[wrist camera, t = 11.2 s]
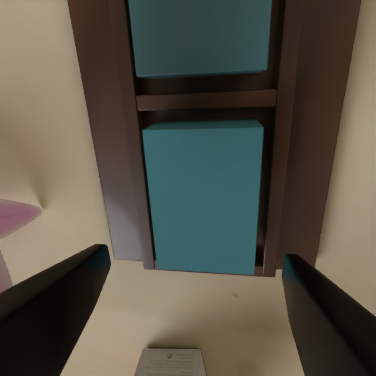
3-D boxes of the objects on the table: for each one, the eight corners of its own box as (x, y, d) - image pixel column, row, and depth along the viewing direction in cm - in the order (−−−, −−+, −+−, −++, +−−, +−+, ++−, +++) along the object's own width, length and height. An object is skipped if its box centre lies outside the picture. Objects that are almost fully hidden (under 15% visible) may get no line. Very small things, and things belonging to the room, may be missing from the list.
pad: (256, 118, 14) (264, 127, 11) (250, 243, 17) (254, 275, 14) (158, 121, 14) (141, 129, 12) (168, 240, 17) (157, 269, 15)
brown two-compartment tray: (388, -219, 9) (490, -411, 6) (309, 261, 18) (331, 308, 14) (51, -150, 12) (-31, -258, 8) (119, 251, 20) (94, 289, 16)
